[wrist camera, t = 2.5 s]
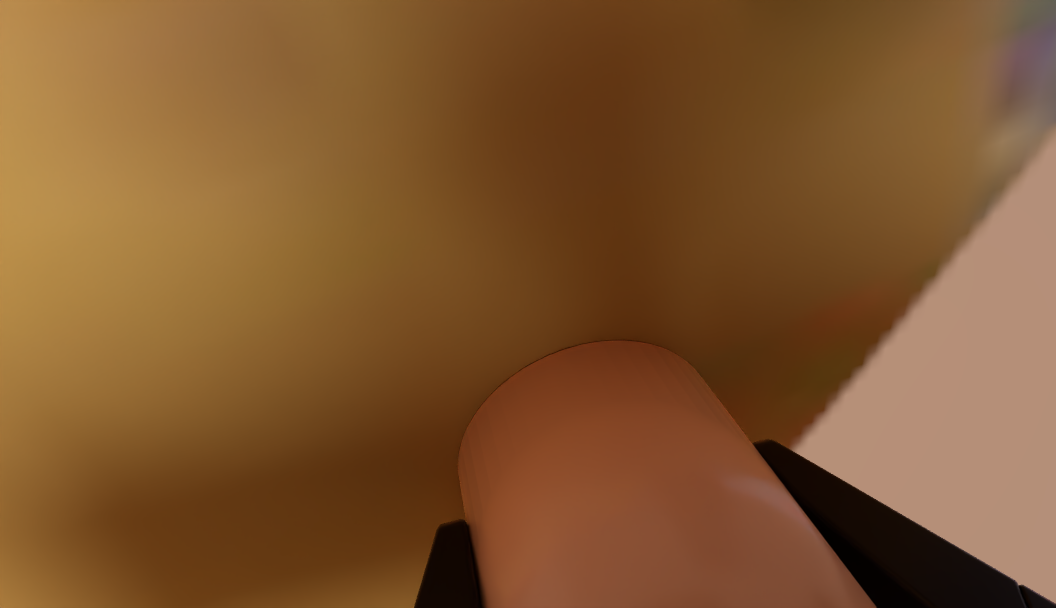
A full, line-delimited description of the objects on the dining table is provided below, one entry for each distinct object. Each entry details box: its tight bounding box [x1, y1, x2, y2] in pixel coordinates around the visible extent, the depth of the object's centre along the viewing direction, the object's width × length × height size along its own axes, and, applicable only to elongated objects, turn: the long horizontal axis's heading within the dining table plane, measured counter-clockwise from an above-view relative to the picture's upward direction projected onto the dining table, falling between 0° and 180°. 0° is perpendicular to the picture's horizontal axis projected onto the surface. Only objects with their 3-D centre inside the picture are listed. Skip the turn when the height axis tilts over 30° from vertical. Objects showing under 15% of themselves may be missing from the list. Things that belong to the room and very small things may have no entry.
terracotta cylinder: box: [458, 340, 877, 608], centre depth 8 cm, size 4×4×4 cm
